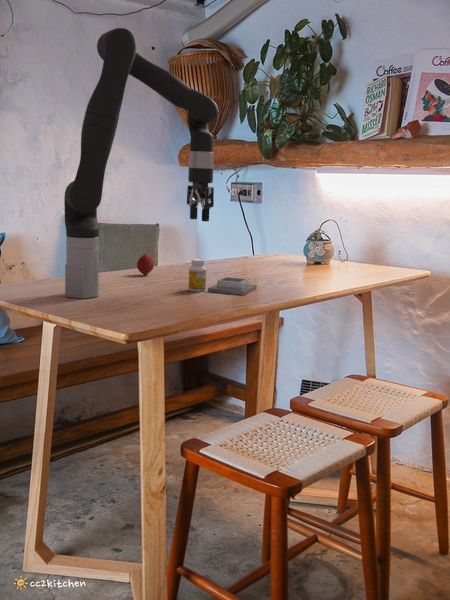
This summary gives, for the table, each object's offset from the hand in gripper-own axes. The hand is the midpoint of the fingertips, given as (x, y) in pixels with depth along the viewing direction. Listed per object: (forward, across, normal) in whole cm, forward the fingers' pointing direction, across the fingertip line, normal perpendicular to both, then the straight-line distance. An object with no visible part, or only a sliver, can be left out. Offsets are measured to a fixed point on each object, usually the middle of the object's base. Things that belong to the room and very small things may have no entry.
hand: (199, 220), depth 212 cm
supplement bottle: (+22, 0, 0) cm, 22 cm away
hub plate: (+22, -3, -11) cm, 25 cm away
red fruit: (+22, +31, +6) cm, 39 cm away
